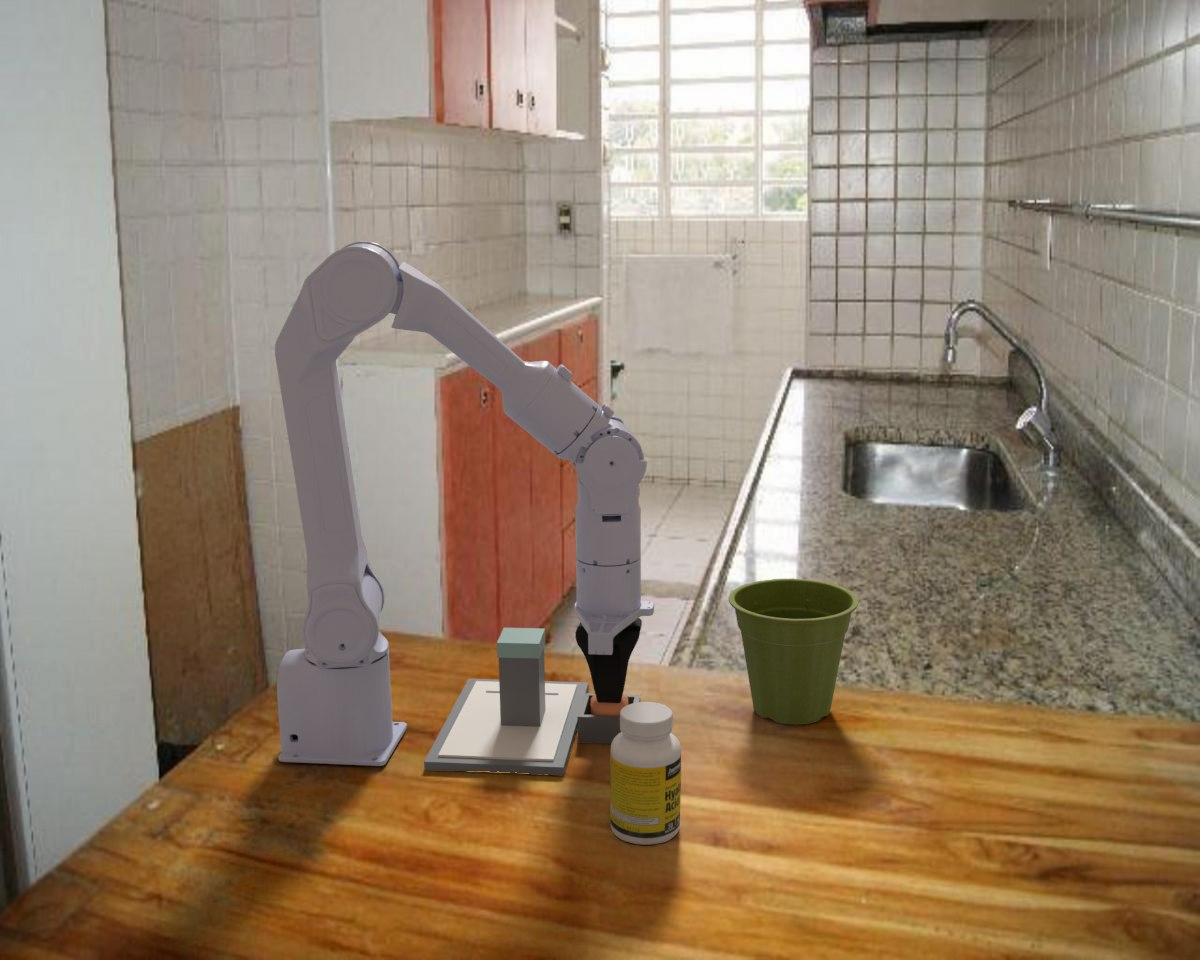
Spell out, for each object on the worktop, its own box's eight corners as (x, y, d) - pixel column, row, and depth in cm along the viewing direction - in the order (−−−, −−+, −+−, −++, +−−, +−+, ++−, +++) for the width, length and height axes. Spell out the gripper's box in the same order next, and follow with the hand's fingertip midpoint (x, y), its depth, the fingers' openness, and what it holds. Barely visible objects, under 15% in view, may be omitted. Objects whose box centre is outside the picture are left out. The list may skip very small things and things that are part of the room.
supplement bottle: (675, 850, 92) (676, 730, 90) (604, 843, 93) (603, 724, 91) (685, 815, 97) (685, 699, 95) (617, 808, 98) (616, 694, 96)
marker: (499, 726, 111) (496, 642, 109) (506, 708, 115) (503, 627, 113) (541, 727, 111) (539, 643, 109) (546, 709, 114) (545, 628, 112)
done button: (588, 727, 110) (588, 706, 110) (593, 711, 114) (592, 691, 113) (626, 728, 110) (626, 708, 109) (629, 712, 113) (629, 692, 113)
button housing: (577, 742, 110) (577, 716, 109) (584, 717, 115) (584, 693, 114) (635, 744, 109) (635, 718, 109) (640, 719, 114) (640, 694, 114)
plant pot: (805, 677, 124) (809, 570, 121) (880, 722, 113) (885, 606, 111) (703, 699, 119) (705, 588, 116) (771, 748, 108) (774, 627, 106)
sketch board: (424, 770, 105) (423, 759, 105) (468, 686, 122) (468, 676, 122) (563, 776, 104) (563, 764, 103) (588, 690, 121) (588, 680, 121)
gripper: (647, 584, 101) (648, 737, 104) (658, 534, 115) (658, 670, 118) (562, 582, 101) (565, 733, 105) (583, 532, 115) (585, 668, 119)
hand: (609, 700), depth 111 cm, fingers closed, pressing on done button
